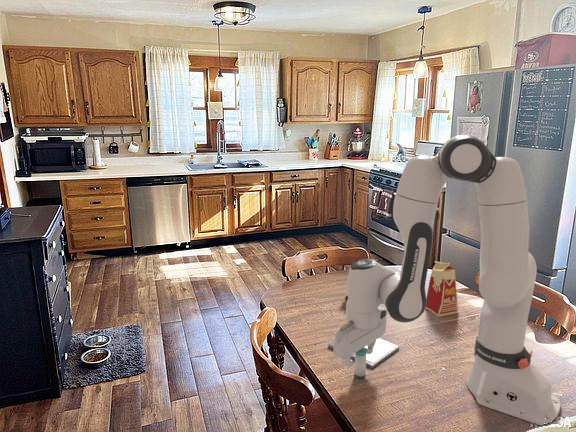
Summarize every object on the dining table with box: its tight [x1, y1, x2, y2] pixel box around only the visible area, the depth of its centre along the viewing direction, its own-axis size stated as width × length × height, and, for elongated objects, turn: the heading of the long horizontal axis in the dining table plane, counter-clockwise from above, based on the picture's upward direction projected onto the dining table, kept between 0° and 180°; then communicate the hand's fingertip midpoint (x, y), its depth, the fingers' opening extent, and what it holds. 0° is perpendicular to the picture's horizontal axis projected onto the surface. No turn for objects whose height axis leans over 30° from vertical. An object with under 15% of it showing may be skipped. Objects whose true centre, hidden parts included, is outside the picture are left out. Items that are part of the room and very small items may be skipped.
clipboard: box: [328, 337, 400, 369], centre depth 139 cm, size 17×15×2 cm
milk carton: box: [425, 260, 459, 318], centre depth 163 cm, size 9×9×20 cm
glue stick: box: [353, 348, 367, 380], centre depth 124 cm, size 3×3×8 cm
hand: (359, 359), depth 125 cm, fingers open, 8 cm apart
